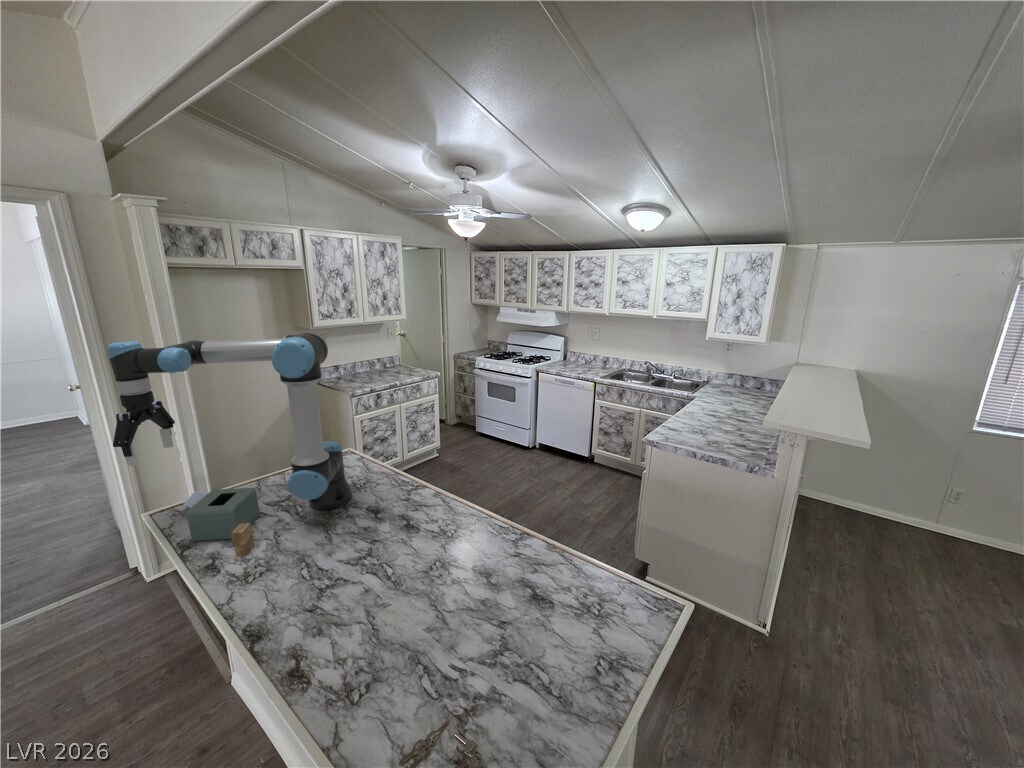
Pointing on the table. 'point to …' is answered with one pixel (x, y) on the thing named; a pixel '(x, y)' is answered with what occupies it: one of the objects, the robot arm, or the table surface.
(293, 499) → the table surface
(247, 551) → the block
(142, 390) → the robot arm
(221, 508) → the coin box
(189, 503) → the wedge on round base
